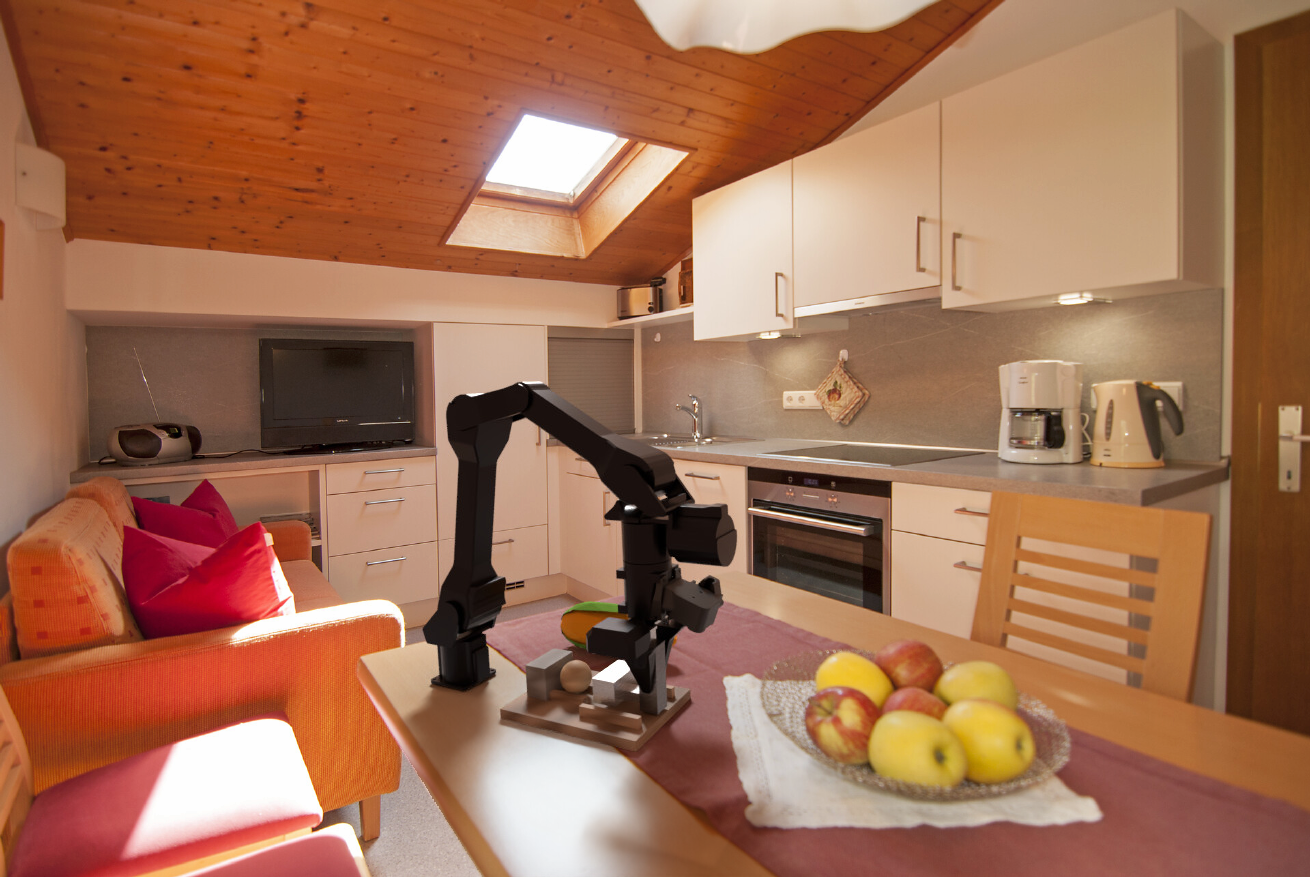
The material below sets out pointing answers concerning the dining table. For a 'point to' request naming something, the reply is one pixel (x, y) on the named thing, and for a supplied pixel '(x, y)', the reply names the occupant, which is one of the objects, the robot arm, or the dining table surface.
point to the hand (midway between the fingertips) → (652, 687)
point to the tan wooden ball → (576, 676)
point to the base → (585, 707)
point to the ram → (631, 686)
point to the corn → (588, 620)
